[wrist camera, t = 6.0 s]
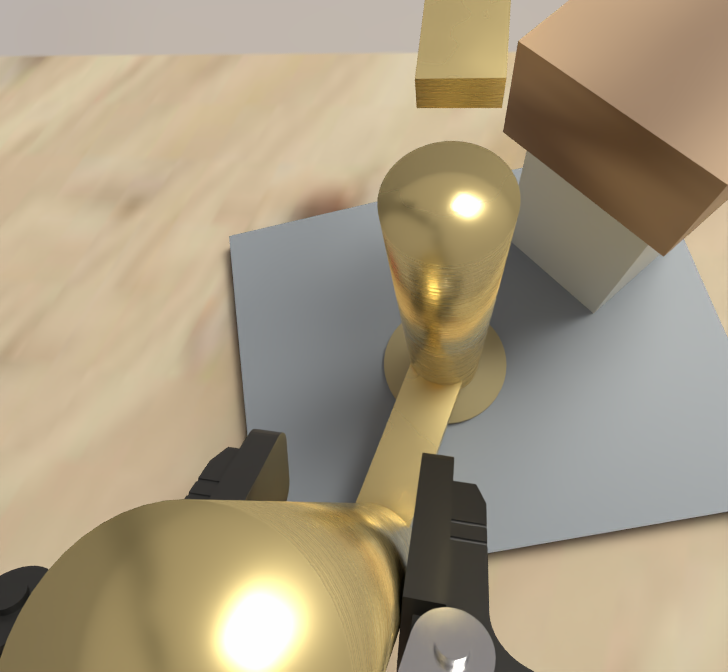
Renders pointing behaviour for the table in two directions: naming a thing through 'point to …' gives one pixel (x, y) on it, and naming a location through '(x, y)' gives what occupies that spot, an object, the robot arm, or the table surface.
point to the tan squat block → (630, 109)
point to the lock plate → (500, 368)
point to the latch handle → (313, 519)
